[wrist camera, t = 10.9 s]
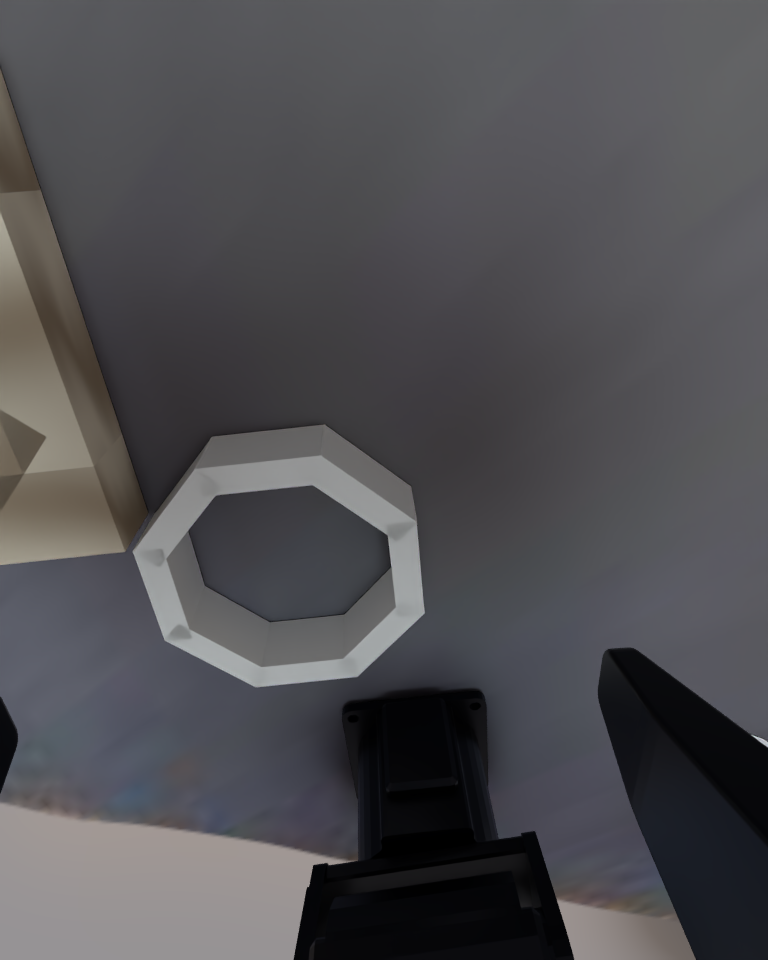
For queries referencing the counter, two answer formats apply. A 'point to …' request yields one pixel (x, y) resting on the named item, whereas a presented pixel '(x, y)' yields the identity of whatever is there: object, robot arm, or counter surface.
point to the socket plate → (51, 391)
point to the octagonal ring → (237, 631)
